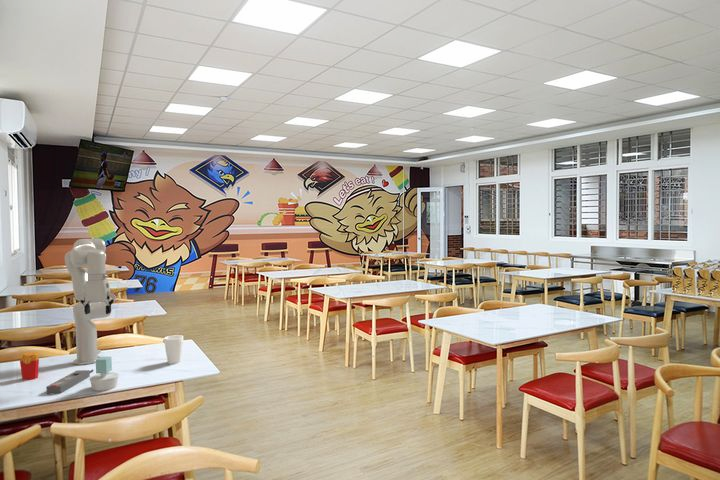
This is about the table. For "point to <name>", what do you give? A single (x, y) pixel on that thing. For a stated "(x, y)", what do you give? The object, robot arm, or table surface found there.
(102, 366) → the block
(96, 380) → the ramekin
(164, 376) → the table surface
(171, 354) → the foam cup
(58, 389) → the power strip
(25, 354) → the french fries
